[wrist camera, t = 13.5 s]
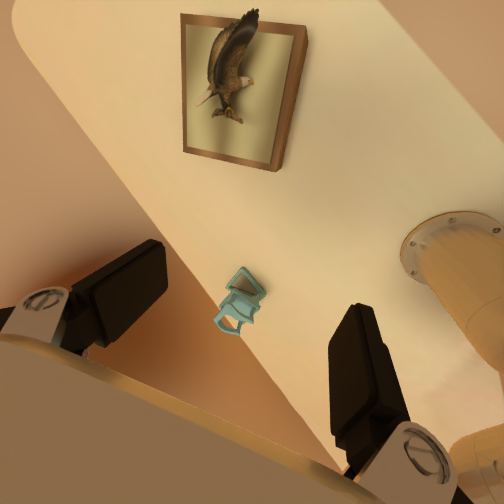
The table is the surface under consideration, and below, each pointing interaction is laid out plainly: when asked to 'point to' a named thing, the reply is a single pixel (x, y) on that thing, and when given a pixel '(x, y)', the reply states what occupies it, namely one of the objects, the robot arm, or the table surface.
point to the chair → (239, 304)
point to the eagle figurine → (229, 63)
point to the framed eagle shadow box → (242, 92)
